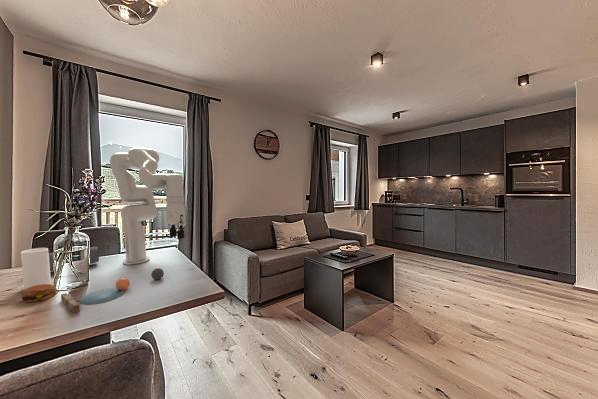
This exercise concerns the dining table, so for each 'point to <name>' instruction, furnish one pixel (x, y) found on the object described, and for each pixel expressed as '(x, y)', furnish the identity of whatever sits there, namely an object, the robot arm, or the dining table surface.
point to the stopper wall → (70, 303)
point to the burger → (38, 292)
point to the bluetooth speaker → (93, 257)
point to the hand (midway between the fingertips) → (177, 237)
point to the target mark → (101, 296)
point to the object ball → (122, 283)
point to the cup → (35, 267)
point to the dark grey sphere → (157, 273)
